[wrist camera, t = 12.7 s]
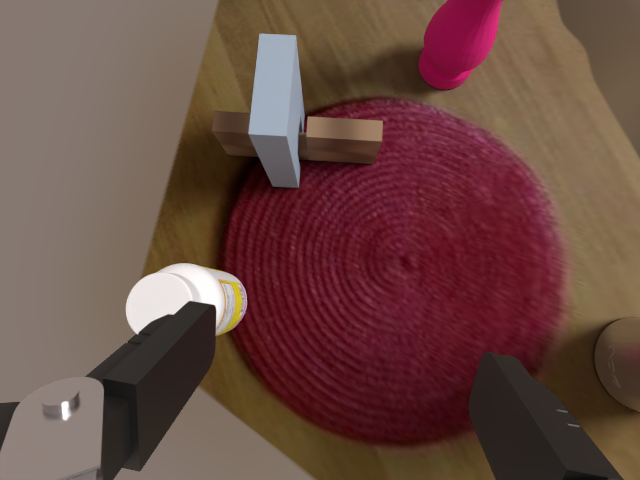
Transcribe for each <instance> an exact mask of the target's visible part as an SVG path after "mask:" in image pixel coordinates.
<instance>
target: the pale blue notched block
mask: <svg viewBox="0 0 640 480" xmlns="http://www.w3.org/2000/svg"><path fill="white" fill-rule="evenodd" d="M304 117H305V115H304V106H303V97H302V87H301V78H300V69H299V60H298V51H297V42H296V35H277V34H260V36H259V45H258V54H257V62H256V71H255V80H254V89H253V98H252V106H251V115H250V124H249V133H248V134H249V137H250V139H251V141H252V143H253V145H254V147H255V149H256V152H257V154H258V156H259V158H260V160H261V162H262V165H263V167H264V169H265V171H266V173H267V175H268V177H269V180H270V182H271V184H272V186H276V187H293V188H299V178H300V164H299V158H298V141H299V132H301V133H303V129H304Z"/></svg>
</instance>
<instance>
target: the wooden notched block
mask: <svg viewBox="0 0 640 480" xmlns="http://www.w3.org/2000/svg"><path fill="white" fill-rule="evenodd" d="M250 115H251V113H239V112H222V111H214V118H213V125H212V132H213V134H214V135H215V137H216V138H217V140H218V141H219V143H220V144H221V146H222V147H223V149H224V150H225V152H226V153H227V155H236V156H252V157H259V156H258V154H257V152H256V149H255V147H254V145H253V143H252V141H251V139H250V137H249V134H248V133H249V124H250ZM382 127H383V121H375V120H358V119H341V118H324V117H308V122H307V133H301V132H299V141H298V158H299V159H300V160H317V161H333V162H349V163H365V164H374V161H375V159H376V156H377V153H378V151H379V148H380V145H381V142H382Z"/></svg>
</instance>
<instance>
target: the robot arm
mask: <svg viewBox="0 0 640 480" xmlns="http://www.w3.org/2000/svg"><path fill="white" fill-rule="evenodd" d="M215 339H216V307H215V305H212V304H207V303H201V302H195V301H189V302H187V303H186V304H185V305H184V306H183V307H182V308H180V309H179V310H178V311H177V312H176V313H175V314H174V315H172V314H167V315H165V316H163V317H160V318H158V319H156V320H154V321H151V322H150V323H149V324H148V325H147V326H145V327H144V328H143V329H142V330H141V331H139V333H138V334H136V335H135V336H133V337H132V338H131V339H130V340H129V341H128V343H127V344H126V343H125V344H124V345H123V346H121V347H120V348H119V349H118V350H117V351H115V352H114V353H113V354H112V355H111V356H110V357H108V358H107V359H106V360H105V361H103V362H102V363H101V364H100V365H99V366H97V367H96V368H95V369H94V370H93V371H92V372H90V373H89V374H88V375H87V376H85V377H71V378H66V379H61V380H58V381H55V382H52V383H49V384H47V385H45V386H43V387H41V388H39V389H37V390H35V391H34V392H32V393H31V394H29V395H28V396H27V397H25V398H24V399H23V400H22V401H21V402H11V403H0V480H113V479H114V478H115V476H116V475H117V473H118V472H119V471H120V470H121V468H126V469H131V470H135V471H141V469H142V468H143V466H144V465H145V463H146V462H147V460H148V459H149V457H150V456H151V454H152V453H153V452H154V450H155V449H156V447H157V446H158V444H159V443H160V441H161V440H162V438H163V437H164V435H165V434H166V432H167V431H168V429H169V428H170V426H171V425H172V423H173V422H174V420H175V419H176V417H177V416H178V415H179V413H180V411H181V410H182V409H183V407H184V405H185V404H186V403H187V401H188V400H189V398H190V397H191V395H192V394H193V392H194V391H195V389H196V388H197V386H198V385H199V383H200V382H201V380H202V379H203V378H204V376H205V375H206V373H207V372H208V370H209V368H210V366H211V364H212V361H213V358H214V353H215ZM594 361H595V366H596V371H597V374H598V376H599V379H600V381H601V383H602V384H603V386H604V387H605V389H606V390H607V391H608V392H609V394H610V395H611V396H612V397H613V398H614V399H616V400H617V401H618V402H620V403H621V404H623V405H624V406H626V407H628V408H630V409H633V410H636V411H638V412H640V318H633V317H631V318H623V319H620V320H618V321H615V322H613V323H612V324H610V325H609V326H607V327H606V328H605V330H604V331H603V332H602V333H601V335H600V337H599V339H598V340H597V343H596V347H595V358H594ZM469 414H470V419H471V421H472V424H473V426H474V429H475V431H476V433H477V436H478V438H479V441H480V443H481V445H482V448H483V450H484V453H485V455H486V457H487V460H488V462H489V464H490V467H491V469H492V472H493V474H494V476H495V479H496V480H624V479H623V478H622V477H621V476H620V474H619V473H618V472H617V471H616V470H615V468H614V467H613V466H612V465H611V463H610V462H609V461H608V460H607V458H606V457H605V456H604V455H603V453H602V452H601V451H600V450H599V448H598V447H597V446H596V445H595V443H594V442H593V441H592V440H591V438H590V437H589V436H588V435H587V433H586V432H585V431H584V430H583V429H582V428H580V427H579V424H578V422H577V421H576V420H575V419H574V417H573V416H572V415H571V414H569V413H568V410H567V409H566V407H565V406H564V405H563V404H562V402H561V401H560V400H559V399H558V397H557V396H556V395H555V394H554V393H553V392H552V391H550V390H549V389H548V388H547V387H545V386H544V385H543V384H542V383H540V382H539V381H538V380H537V379H534V378H532V377H531V375H530V374H529V373H528V371H527V370H526V369H525V368H524V366H523V365H522V364H521V362H520V361H519V360H518V359H517V358H516V357H513V356H508V355H502V354H496V353H490V352H486V353H484V354H483V356H482V358H481V361H480V364H479V367H478V370H477V374H476V377H475V380H474V383H473V387H472V390H471V393H470V397H469Z"/></svg>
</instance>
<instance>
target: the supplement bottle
mask: <svg viewBox="0 0 640 480" xmlns="http://www.w3.org/2000/svg"><path fill="white" fill-rule="evenodd" d="M189 301H195V302H201V303H207V304H212V305H215V307H216V336H218V335H221V334H223V333H226V332H228V331H230V330H231V329H233V328H234V327H235V326H236V325H237V324H238V323H239V322H240V321H241V319H242V318H243V316H244V314H245V311H246V307H247V296H246V292H245V289H244V287H243V285H242V284H241V282H240V281H239V280H238V279H237V278H236V277H234V276H233V275H231V274H229V273H226V272H223V271H219V270H215V269H211V268H206V267H202V266H198V265H194V264H187V263H180V264H174V265H170V266H167V267H165V268H163V269H161V270H160V271H158V272H157V273H154V274H151V275H148V276H146V277H144V278H143V279H141V280H140V281H139V282H138V283H137V284H136V285H135V286H134V287H133V289H132V290H131V292H130V294H129V296H128V298H127V302H126V317H127V321H128V323H129V325H130V327H131V328H132V330H133V331H134V332H135V333H136V334H138V333H139V331H141V330H142V329H143V328H144V327H145V326H147V325H148V324H149V323H150V322H151V321H154V320H156V319H158V318H160V317H163V316H165V315H167V314H172V315H174V314H175V313H176V312H177V311H178V310H179V309H180V308H182V307H183V306H184V305H185V304H186V303H187V302H189Z"/></svg>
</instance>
